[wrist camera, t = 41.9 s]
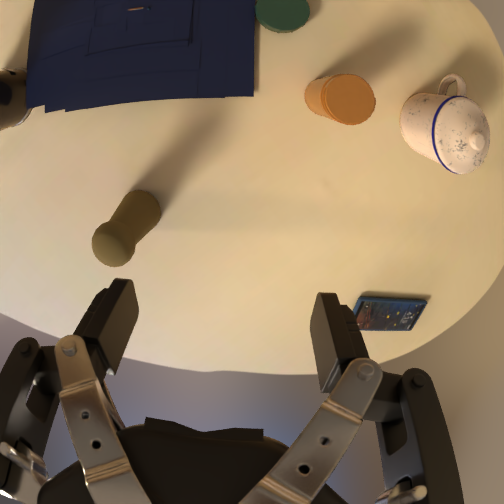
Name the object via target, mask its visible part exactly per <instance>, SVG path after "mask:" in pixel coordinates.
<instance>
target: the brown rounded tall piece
mask: <svg viewBox="0 0 504 504" xmlns="http://www.w3.org/2000/svg"><path fill="white" fill-rule="evenodd" d="M160 216H161V209H160V206H159V203H158V201H157V200H156V199H155V197H154V196H153V195H151V194H150V193H148V192H145V191H142V190H135V191H132V192H129V193H128V194H127V195H126V196H125V197H124V199H123V200H122V202H121V203H120V205H119V206H118V208H117V209H116V211H115V212H114V214H113V216H112V217H111V219H110V220H109V221H108V222H105V223H103V224H102V225H100V226H99V227H98V228H97V229H96V230H95V233H94V235H93V237H92V249H93V252H94V254H95V256H96V257H97V259H98V260H99V261H100V262H102V263H103V264H105V265H107V266H110V267H119V266H123V265H124V264H126V263H127V262H128V261H130V259H131V257H132V256H133V254H134V252H135V246H136V244H137V243H138V242H139V241H140V240H141V239H142V238H143V237H144V236H145V235H146V234H147V233H148V232H149V231H150V230H152V229H153V228H154V227H155V226H156V225H157V223H158V222H159V220H160Z"/></svg>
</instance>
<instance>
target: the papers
mask: <svg viewBox="0 0 504 504" xmlns="http://www.w3.org/2000/svg"><path fill="white" fill-rule="evenodd" d="M254 30H255V0H35V2H34V8H33V14H32V21H31V29H30V39H29V48H28V60H27V79H26V110H27V109H30V108H34V107H38V106H41V105H45V113H48V112H52V111H57V110H62V109H65V112H68V111H74V110H80V109H88V108H94V107H100V106H107V105H114V104H121V103H130V102H139V101H150V100H164V99H183V98H225V97H237V96H251V97H254Z"/></svg>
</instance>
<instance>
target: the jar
mask: <svg viewBox="0 0 504 504" xmlns="http://www.w3.org/2000/svg"><path fill="white" fill-rule="evenodd" d="M305 101H306V104H307V106H308V107H309V109H310V110H311V111H312V112H314V113H315V114H318V115H320V116H323V117H326V118H329V119H332V120H335V121H337V122H340V123H343V124H346V125H356V124H360V123H362V122H364V121H366V120H367V119H368V118H369V117H370V116H371V115H372V113H373V111H374V108H375V105H376V98H375V97H374V93H373V91H372V89H371V87H370V85H369V84H368V83H367V82H366V81H365V80H364V79H362V78H361V77H359V76H356V75H352V74H338V75H333V76H328V77H323V78H319V79H316V80H314V81H312V82H311V83H310V84H309V85H308V86H307V88H306V90H305Z"/></svg>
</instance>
